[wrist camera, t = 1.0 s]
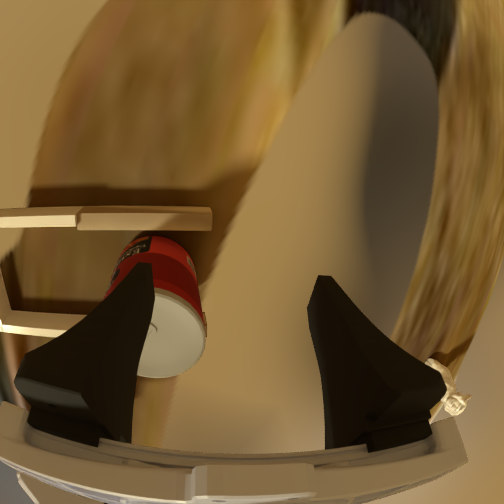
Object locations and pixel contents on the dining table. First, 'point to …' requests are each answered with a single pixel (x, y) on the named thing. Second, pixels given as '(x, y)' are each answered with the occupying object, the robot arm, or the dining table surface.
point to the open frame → (3, 316)
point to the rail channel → (146, 220)
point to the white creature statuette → (450, 390)
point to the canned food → (167, 306)
